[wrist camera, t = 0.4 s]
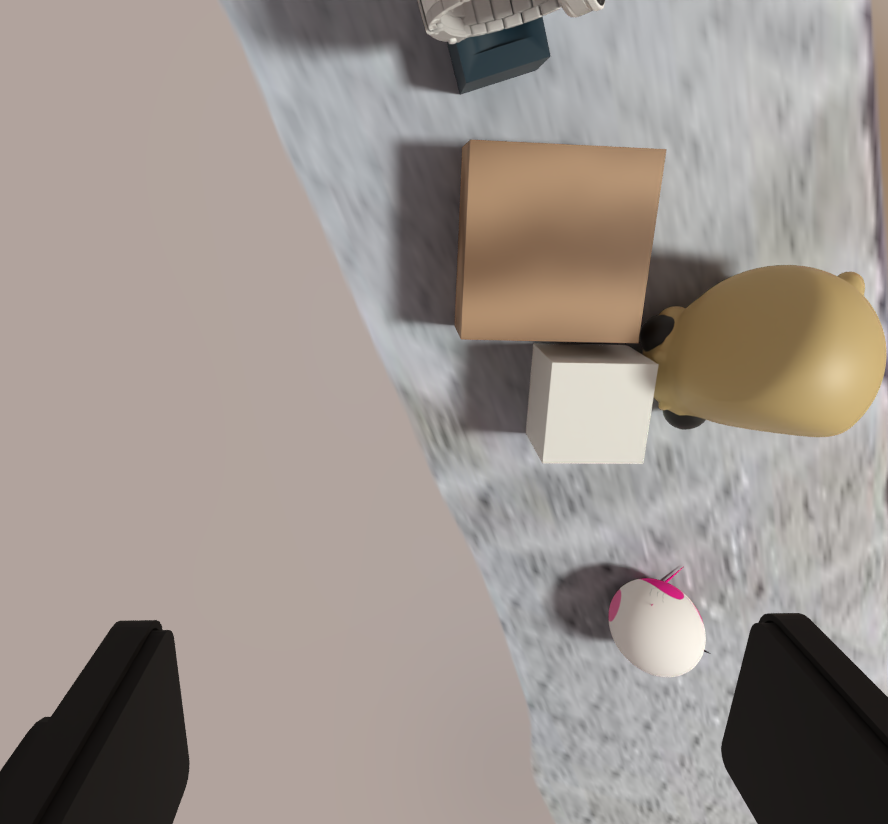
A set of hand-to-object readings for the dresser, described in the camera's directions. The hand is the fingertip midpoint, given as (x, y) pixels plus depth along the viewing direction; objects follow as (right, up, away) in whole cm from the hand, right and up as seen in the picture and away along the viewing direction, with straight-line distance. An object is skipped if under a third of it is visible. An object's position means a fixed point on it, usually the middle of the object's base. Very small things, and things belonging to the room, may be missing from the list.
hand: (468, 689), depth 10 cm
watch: (+2, +25, +22) cm, 33 cm away
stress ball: (+15, -9, +35) cm, 39 cm away
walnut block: (+5, +14, +26) cm, 30 cm away
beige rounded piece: (+17, +9, +29) cm, 35 cm away
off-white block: (+8, +6, +29) cm, 31 cm away
